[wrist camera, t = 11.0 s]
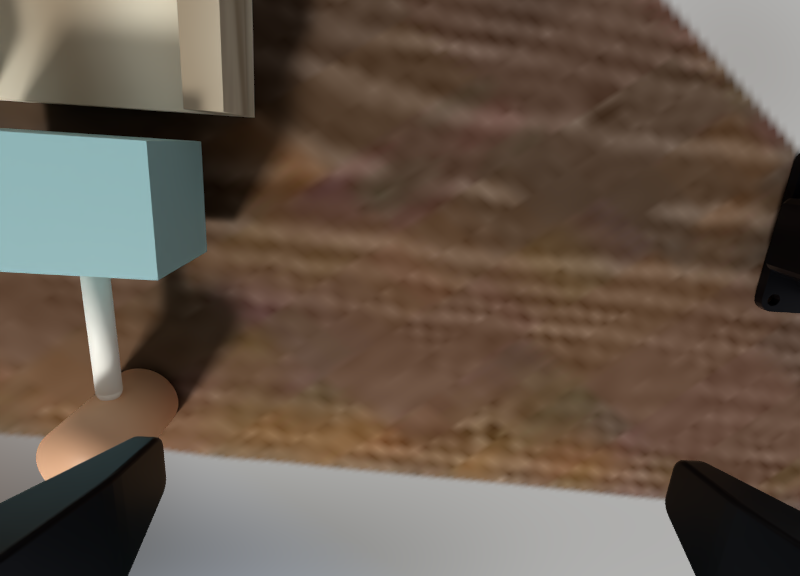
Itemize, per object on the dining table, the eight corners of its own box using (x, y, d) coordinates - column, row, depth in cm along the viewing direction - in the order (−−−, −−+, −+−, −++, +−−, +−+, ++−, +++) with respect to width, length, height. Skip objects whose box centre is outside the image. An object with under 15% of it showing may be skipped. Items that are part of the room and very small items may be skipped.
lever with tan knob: (209, 141, 18) (146, 140, 13) (223, 433, 21) (177, 513, 17) (22, 129, 18) (-111, 123, 13) (68, 426, 21) (-23, 505, 17)
